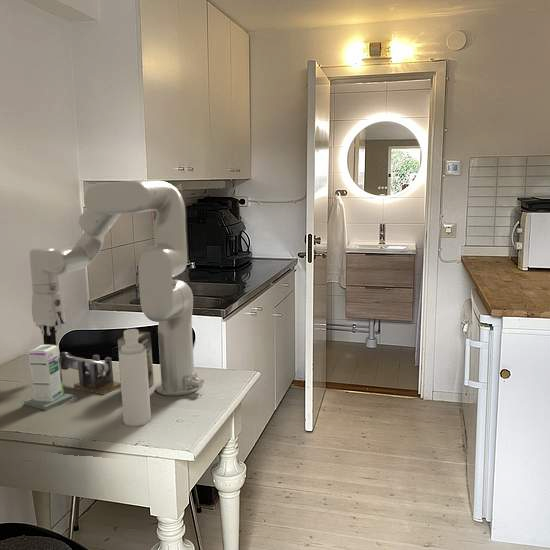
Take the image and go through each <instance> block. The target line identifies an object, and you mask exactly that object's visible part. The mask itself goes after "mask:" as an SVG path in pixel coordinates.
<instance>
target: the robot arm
mask: <svg viewBox="0 0 550 550" xmlns="http://www.w3.org/2000/svg"><path fill="white" fill-rule="evenodd" d="M83 201H84V202H83V203H84V206H85V210H84V211H83V212H82V213H81V215H80V216H79V218H78V224H79V227H80V229H81V230H82V231H83V234H81V237H80V238H79V239H78V240H77V242H75V244H74V245H71V246H66V247H62V248H58V249H55V248H54V247H52V246H51V247H48V246H42V247H41V246H40V247H35V248H32V249H31V250H30V251H29V264H30V265H29V266H30V275H31V276H30V278H31V289H32V295H31V296H32V297H31V315H32V316H31V318H32V321H33V322H34V324H35V326H36V327H38V328H39V329H40V332H41V334H42V336H43V345H57V338H56V337H57V335H56V334H57V333H58V331H60V330H63V326H62V325H65V324H66V322H67V321H66V320H67V319H66V311H65V304H64V300H63V296H62V293H61V292H60V284H59V283H60V282H59V276H62V275H66V274H70V273H74V272H78V271H80V270H84V269H85V268H86V267H88V266H89V265H90V264H91V263H92V262H93V260H94V259H96V257H97V256H98V254H99V253H100V251H101V250H102V249H103V248H102V247H103V246H104V242H105V235H106V234H107V233H108V232H109V230H110V229H111V228H112V226H113V225H114V224H115V223H116V222H117V220H119V218H120V217H121V216H122V215H123V214H124V215H125V214H139V213H141V214H142V213H146V212H152V211H154V212H156V217H155V221H154V225H153V226H154V227H153V228H154V229H153V230H154V245H153V246H150V247H148V248H147V249H145V250H144V251H143V253H142V254H141V255H140V258H139V262H138V267H137V269H138V285H139V286H138V287H139V301H140V308H141V311H142V313H143V315H144V316H145V317H146V318H147V319H148V320H150V321H151V322H154V323H158V324H157V336H158V350H159V352H158V353H159V354H158V355H159V364H160V365H159V367H160V369H159V370H160V381H159V382H158V383H156V386H155V390H156V392H157V393H159V394H161V395H163V396H164V395H165V396H173V397H174V396H176V397H177V396H185V395H189V394H193V393H194V392H196V391H197V390H199V389H202V388H203V385H204V383H205V379H203V378H198V372H195V364H194V363H195V362H194V346H193V344H194V342H193V310H194V308H193V307H194V295H193V290H192V288H191V287H190V285H188V284H187V282H185V281H183V280H179V279H173V278H174V277H177V276H178V275H180V274H182V273H183V272H184V271H185V270H186V268H187V265H188V252H187V232H186V207H185V201H184V198H183V196H182V194H181V192H180V191H179V190H178V189H177V188H176V187H175V186H174V185H172V183H170V182H169V183H168V182H167V181H165V180H159V179H141V180H140V179H139V180H138V179H137V180H126V181H125V180H122V181H111V182H108V181H106V182H96V183H93V184H91V185H90V186H89V187H88V188H87V189H86V190H85V193H84V196H83Z"/></svg>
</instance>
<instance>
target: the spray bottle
mask: <svg viewBox="0 0 550 550" xmlns="http://www.w3.org/2000/svg"><path fill="white" fill-rule="evenodd" d="M139 332H140V331H139V329H137V328H130V329H129V328H127V329H125V330H124V331H123V337H124V339H125V345H123V346H121V348H120V349H119V350H118V349H117V352H118V351H119V353H118V366H119V365H120V368H119V380H120V379H121V382H120V383H121V387H120V393H121V392H122V394H121V401H122V404H121V405H122V415H123V423H124V424H125V425H126V426H130V427H138V426H142V425H145V424H148V423H149V422H150V421H151V420H152V415H151V401H150V388H149V382H148V367H147V354H146V347H145V346H143V344H140V343H138V338H139Z"/></svg>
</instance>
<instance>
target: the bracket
mask: <svg viewBox="0 0 550 550" xmlns="http://www.w3.org/2000/svg"><path fill="white" fill-rule="evenodd" d="M92 360H93V361H98V362H101V358H100V355H99V354H93V355H92ZM112 361H113V359H112V357H110V356H107V357H105V358H104V363H107V364H108V367H109V369H108V372H107V373H106V374H105V375H99V374H98V371H97V363H90V372H86V370H85V361H83V360H80V361H78V370H77V371H78V382H76V383H74V384H73V387H75V388H74V389H78V388H80V389H79V390H82V389H84V390H83V391H86V390H88V391H87V392H90V391H93V392H92V393H94V392H98V393H102V394H101V395H103V394H104V393H106V394H108V393H110V392H109V391H111V392H112V390H113V391H115V390H117V389H119V388H121V382H120V381H114V372H113V362H112ZM116 388H117V389H116ZM114 389H115V390H114ZM107 392H108V393H107ZM98 393H97V394H98ZM104 395H105V394H104Z"/></svg>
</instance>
